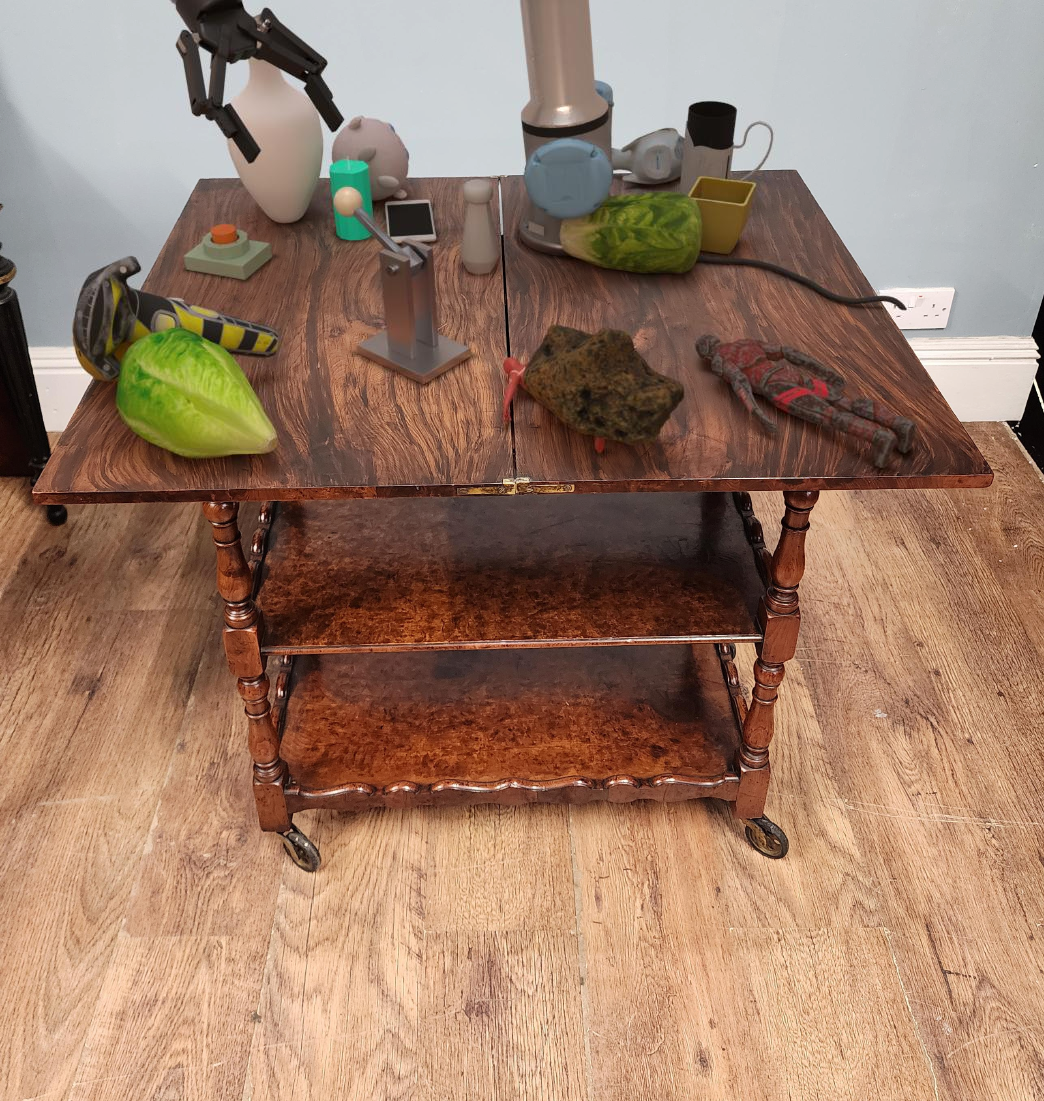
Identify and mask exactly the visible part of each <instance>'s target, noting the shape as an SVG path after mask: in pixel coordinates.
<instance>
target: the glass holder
mask: <svg viewBox="0 0 1044 1101" xmlns="http://www.w3.org/2000/svg"><path fill="white" fill-rule="evenodd" d="M687 110H688V111H687V120H685V130H684V131H685V132H684V138H685V139H684V150H683V160H682V171H681V177H680V182H679V192H678V193H684V194H686V195H688V194H689V193H690V191H691V189H692V188H693V186H694V185H695V183H696V181H697V179H698V178H699V177H700V176H702V177H712V178H719V179H726V180H731V171H732V164H733V154H734V149H742V148H743V147H744V146H745V145H746V142H747V138H748V133H749V132H750V130H751V129H752V128H753V127H755V126H757V125H762V126H764V127H766V128H767V129H768V130H769V132H770V142H769V145H768V149H767V152H766V153H765V156H764V157H763V159H762V160H761V162H760V163H759V164H758V166H757V167H755V168H754V169H753V170H752V171H750V172H749V173H748V174H746V175H745V176H743V177H741V178H740V179H739V180H737V181H746V180H747V179H748V178H750V177H751V176H752V175H754V174H755V173H757V172H758V171H759V170H760V169H761V168H762V167H763V165H764V164H765V163H766V162H767V160H768V157H769V156H770V153H771V150H772V147H773V142H774V131H773V128H772V127H771V125H770V124H769V123H767V122H765V121H761V120H758V121H754V122H752V123H751V124H749V125H748V126H747V128H746V129H745V132H744V136H743V141H742V144H739V145H738V144H737V145H736V144H735V142H734V140H735V129H736V122H737V114H738V109H737V107H736V106H735V105H733V104H730V103H728V102H724V101H717V100H704V101H697V102H694V103H692V104H690V105H689V106H688V109H687Z"/></svg>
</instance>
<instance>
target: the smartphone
mask: <svg viewBox="0 0 1044 1101" xmlns="http://www.w3.org/2000/svg"><path fill="white" fill-rule="evenodd" d="M384 210H385V222H386V233H387V234H388V235H389V236H390V237H391V238H392V240H393V241H394V242H395V243H396V244H397V245H399V244H402V240H404V239H406V238H409V239H412V240H414V241H417V242H420V243H427V242H430V243H431V242H436V241H437V239H438V238H437V233H436V227H435V226H436V225H435V221H434V213H433V207H432V203H431V200H430V199H411V200H395V201H393V200H392V201H386V202H385V203H384Z"/></svg>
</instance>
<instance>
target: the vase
mask: <svg viewBox="0 0 1044 1101" xmlns="http://www.w3.org/2000/svg"><path fill="white" fill-rule="evenodd" d="M258 30H259V29H258ZM259 31H260V30H259ZM260 45H261V43H260V42H258V41H257V48H259V47H260ZM247 61H248V62H247V63H248V68H249V78H248V81H247V84H246V86H245V87H244V89H243V90H241V92H240V93H238V94H237V95H236V96H234V98H233V99H232V100H231V101H230V102H229V103H231V105H232V106H233V108H234V109H235V111H236V113H237V114H238V116H239V117H240V119H241V120H242V122H243V123H244V125H245V126H246V128H247V129H248V131H249V132H250V134H251V135H252V137H253V139H254V140H255V142H256V143H257V145H258V146H259V148H260V149H261V152H260V153H259V155H258V156H257V158H256V159H255V161H254V162H253V163H250V164H248V162H247V160H246V159H245V157H244V156H243V154H242V153H241V151H240V150H239V148H238V147H237V145H236V144H235V142H234V141H233V139H232V138H230V139H228V138H227V137H225V139H226V144H227V149H228V153H229V155H230V159H231V161H232V163H233V166H234V168H235V171H236V172H237V175H238V178H239V179H240V181H241V183H242V185H243V186H244V187H245V189H246V190H247V191H248V193H249V194H250V195H251V197H252V198H253V199H254V200H255V202H256V204H258V206H259V207H260V208H261V209H262V211H263V212H264V213H265V215H266V216H268V217H269V218H270V219H271V220H272V221H274V222H276V223H281V224H291V223H295V222H298V221H299V220H300V219H302V218H303V216H305V214H306V212H307V210H308V208H309V205H310V203H311V201H312V198H313V196H314V193H315V191H316V188H317V187H318V186H317V185H318V183H319V180H320V177H321V172H322V167H323V166H322V164H323V156H324V135H323V134H324V133H323V129H322V124H321V119H320V114H319V112H318V110H317V109H316V107H315V106H314V104H313V103H312V101H311V100H310V98H309V96H308V95H305V93H303V92H301V91H299V90H298V89H296V88H295V87H293V86H292V85H291V84H290V83H288V81H286V80H285V79H286V78H284V76H283V74H282V70H281V69H279V68H277V67H275V66H274V65H272V64H270V63H268V62H266V61H265V60H257V59H255V58H253V57H252V56H251V58H250V59H247Z"/></svg>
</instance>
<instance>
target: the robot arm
mask: <svg viewBox="0 0 1044 1101" xmlns="http://www.w3.org/2000/svg"><path fill="white" fill-rule="evenodd" d="M169 1H170V2H171V4H173V5H175V10H176V12H177V14H178V15H179V17H180V18H181V20H182V21H183V22H184V24H185V26H186V27H187V28H188V29H182V30H181V31H180V34H179V36H178V38H177V40H176V42H175V48H176V50H177V52H178V54H179V55H180V57H181V59H182V63H183V69H184V70H183V71H184V74H185V75H184V76H185V81H186V87H187V92H188V98H189V105H190V110H191V111H190V112H191V114H192V115H193V116H195V117H197V118H198V117H199V118H200V117H201V116H202V115H204V117H205V119H206V120H207V121H209V122H213V121H214V122H215V124H216V125H217V127H218V128H219V130H220V131H221V133H222V134H223V136H224V137H225V138H226V137H227V138H228V139H230V138H232V139H233V141H234V142H235V144H236V145H237V147H238V148H239V150H240V151H241V153H242V154H243V156H244V157H245V159H246V160H247V162H248V164H250V163H253V162H254V161H255V159H256V158H257V156H258V155H259V153H260V152H261V149H260V148H259V146H258V145H257V143H256V142H255V140H254V139H253V137H252V135H251V134H250V132H249V131H248V129H247V128H246V126H245V125H244V123H243V122H242V120H241V119H240V117H239V116H238V114H237V113H236V111H235V109H234V108H233V106H232V105H231V103H230V102H228V103H226V104H225V105H224V106H223V104H224V94H225V85H226V74H227V73H226V72H227V64H228V63H229V65H234V64H236V63H237V62H239V61H248V59H250V58H251V56H252V57H253V58H255V59H257V60H265V61H266V62H268V63H270V64H272V65H274V66H275V67H277V68H279V69H280V71H282V72H285V73H286V74H288V75H290V76H292V77H294V78H295V79H298V80H299V81H301V82H302V83H305V85H304V87H303V90H304V92H305V93H306V96H307V97H308V98H309V99H310V100H311V101H312V103H313V104H314V106H315V107H316V109H317V112H318V115H319V116H320V117H321V118H322V120H323V122H324V123H325V124H326V126H327V128H328V129H329V131H330V132H331V134H333V133H337V131H338V130H339V129H340V127H341V125H343V123H344V121H345V118H344V116H343V114H342V113H341V112H340V110H339V108H338V107H337V105H336V104H335V102H334V101H333V99H334V95H333V93H332V91H331V89H330V88H329V86H328V84H327V83H326V81H325V80H324V79H323V76H322V74H323V72H324V71H325V70H326V68H327V66H328V64H329V62H328V60H327V59H326V58H325V57H324V56H323V55H321V54H320V53H319V52H317V51H316V50H315V49H314V48H313V47H312V46H310V45H309V44H308V43H307V42H305V41H304V40H303V39H301V38H300V37H299V36H298V35H297V34H296V33H294V32H293V31H292V30H291V29H290V28H288V27H287V26H286V25H285V24H283V23H282V22H281V21H280V20H279V19H278V17H277V16H276V15H275V14H274V12H273V11H272V9H270V8H269V7H263V9H262V11H261V12H260V13H259V14H256V15H255V16H252V15H251V14H250V13H249V12H248V11H247V10H246V8H245V6H244V3H243V0H169ZM519 8H520V15H521V16H520V18H521V25H522V34H523V44H524V52H525V53H524V54H525V62H526V69H527V72H526V73H527V81H528V88H529V101H528V102H527V104H526V105H525V106H524V107H523V108H522V110H521V111H520V120H521V129H522V138H523V139H522V140H523V147H524V157H525V166H524V171H523V183H524V187H525V189H526V193H527V195H528V197H527V200H526V203H525V207H524V209H523V212H522V215H521V219H520V222H519V237H520V239H521V241H522V242H523V244H525V245H526V246H527V247H529V248H531V249H532V250H535V251H537V252H539V253H542V254H547V255H553V256H558V257H559V256H560V257H572V256H571V255H570V254H568V253H567V252H566V251H565V250H564V249H563V248H562V246H561V241H560V236H559V234H560V229H561V225H562V221H563V220H564V219H577V218H581V217H584V216H587V215H589V214H591V213H592V212H594V211H595V210H596V209H597V208H599V207H600V206H601V205H602V203H603V202H604V201H605V199H606V198H607V197H611V196H612V194H611V192H610V190H611V187H612V185H613V181H614V171H613V168H612V148H613V147H612V145H613V144H612V140H613V139H612V138H613V136H612V135H613V134H612V131H613V130H612V129H613V109H614V106H615V102H614V91H613V88H612V87H611V85H610V84H608V83H606V82H604V81H603V80H597V79H595V66H594V53H593V52H594V50H593V37H592V24H591V10H590V0H519ZM258 29H259V30H260V31H259V30H258ZM257 41H258V42H260V43H261V45H260V47H259V48H257ZM200 48H201V49H203V50H205V51H206V52H208V53H210V65H209V69H210V76H209V84H208V93H207V90H206V84H205V79H204V73H203V67H202V60H201V55H200V50H199V49H200ZM227 138H226V139H227ZM696 262H703V263H711V264H712V263H713V264H739V265H749V266H755V267H760V268H764V269H768V270H771V271H774V272H776V273H779V274H782V275H784V276H787V277H788V278H791V279H793V280H796V281H797V282H801V283H803V284H804V285H807V286H808V287H810V288H812V289H813V290H815V291H817V292H818V293H820V294H821V295H823V296H825V297H826V298H828V299H831V300H833V301H836V302H839V303H844V304H848V305H863V304H870V303H877V302H879V303H881V302H885V303H891V304H892V305H894V306H896V307H897V308H898V309H899V310H901V311H907V310H908V308H907V307H906V305H905V304H904V303H903V302H902V300H900V299H898V298H897V297H894V296H890V295H875V296H867V297H866V296H865V297H857V298H856V297H855V298H854V297H846V296H842V295H839V294H836V293H834V292H831V291H830V290H828V289H826V288H825V287H823V286H821V285H819V283H817V282H815V281H813V280H811V279H809V278H807V277H805V276H803V275H801V274H798V273H796V272H794V271H791V270H789V269H786V268H784V267H781V266H779V265H775V264H772V263H770V262H766V261H762V260H757V259H750V258H744V257H743V258H742V257H716V256H715V257H712V256H703V255H699V256H698V258H697V260H696Z"/></svg>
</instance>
